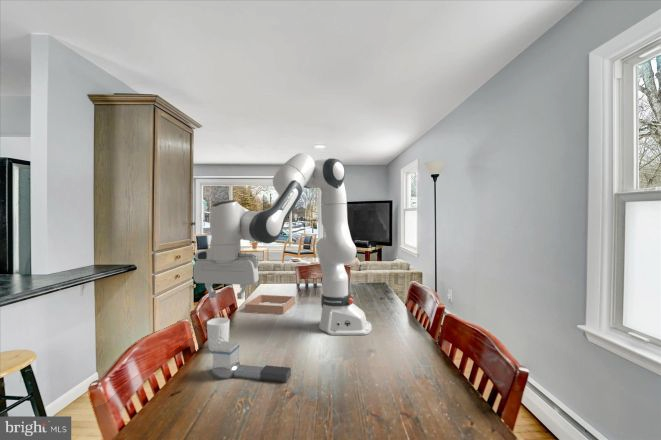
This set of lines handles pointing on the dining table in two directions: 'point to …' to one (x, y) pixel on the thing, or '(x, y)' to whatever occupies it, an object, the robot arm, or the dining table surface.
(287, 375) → the ratchet
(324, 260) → the robot arm
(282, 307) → the tray
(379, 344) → the dining table surface
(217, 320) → the white cup
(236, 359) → the pale grey cube
